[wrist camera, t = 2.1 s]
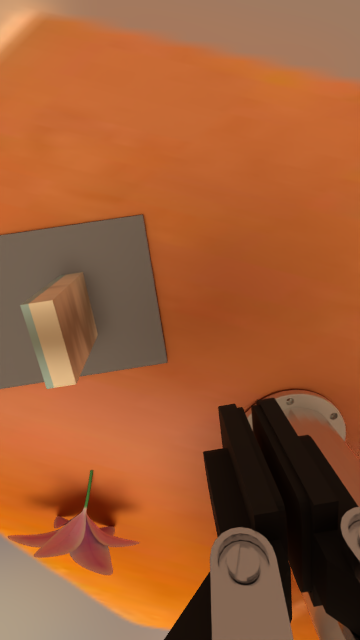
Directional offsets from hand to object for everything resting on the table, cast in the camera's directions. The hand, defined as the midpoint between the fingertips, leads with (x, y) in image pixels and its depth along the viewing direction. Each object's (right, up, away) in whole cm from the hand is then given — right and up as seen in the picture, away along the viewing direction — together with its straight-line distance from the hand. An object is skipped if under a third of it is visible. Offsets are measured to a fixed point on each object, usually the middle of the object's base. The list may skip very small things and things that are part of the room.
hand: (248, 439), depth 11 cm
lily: (-13, -17, +28) cm, 35 cm away
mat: (-15, +5, +20) cm, 25 cm away
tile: (-11, +5, +19) cm, 23 cm away
